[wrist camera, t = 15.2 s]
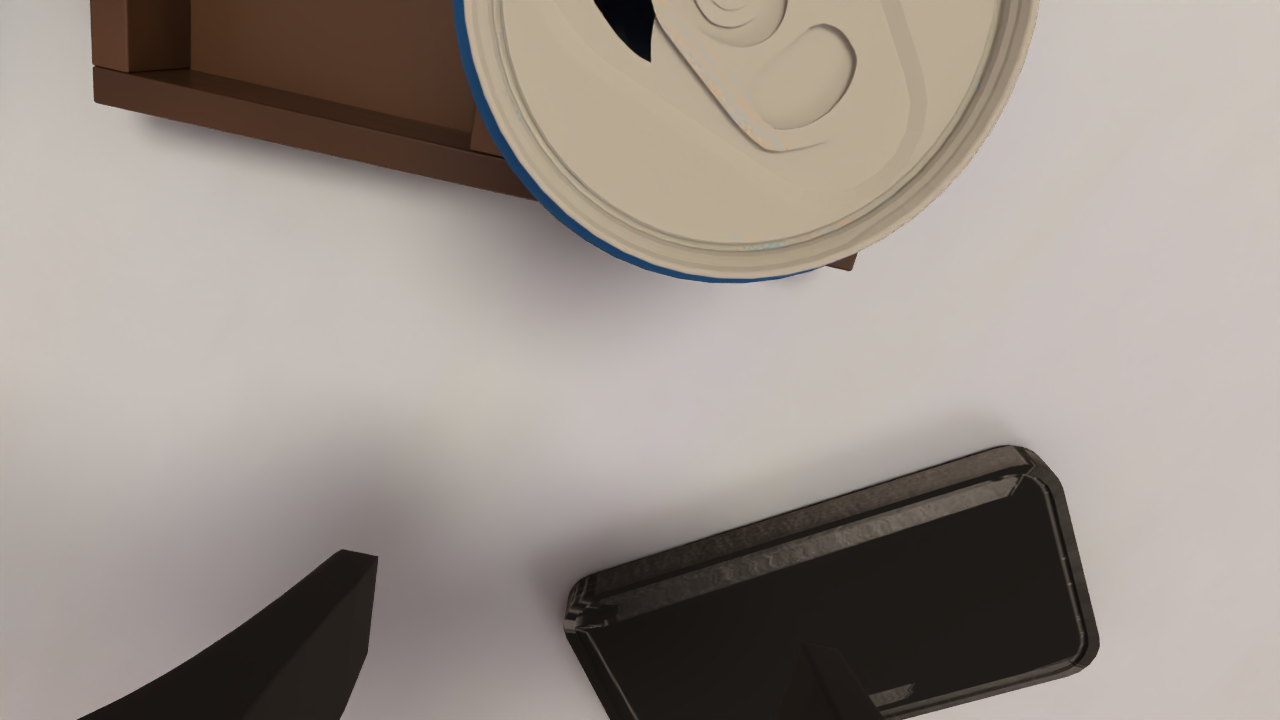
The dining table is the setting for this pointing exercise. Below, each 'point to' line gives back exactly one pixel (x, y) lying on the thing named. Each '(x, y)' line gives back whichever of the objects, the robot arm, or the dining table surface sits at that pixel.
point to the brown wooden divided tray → (308, 79)
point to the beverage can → (740, 118)
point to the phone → (851, 600)
